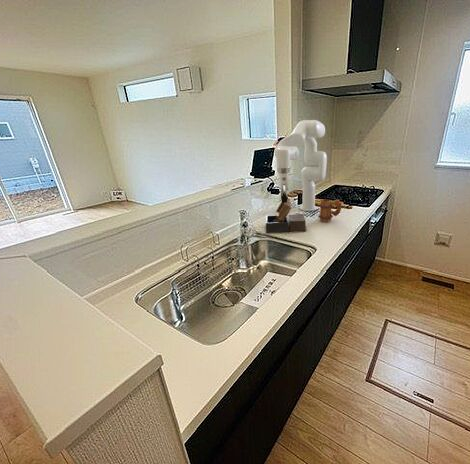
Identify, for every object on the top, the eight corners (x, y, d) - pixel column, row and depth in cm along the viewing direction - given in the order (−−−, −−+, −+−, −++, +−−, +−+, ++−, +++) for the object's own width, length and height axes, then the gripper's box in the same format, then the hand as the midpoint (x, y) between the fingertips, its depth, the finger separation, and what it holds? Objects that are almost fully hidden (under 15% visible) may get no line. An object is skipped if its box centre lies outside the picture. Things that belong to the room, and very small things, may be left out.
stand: (288, 224, 164) (288, 214, 161) (303, 224, 164) (303, 214, 161) (289, 231, 153) (289, 221, 150) (305, 231, 153) (305, 220, 150)
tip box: (282, 214, 162) (272, 209, 160) (293, 197, 157) (283, 191, 156) (283, 221, 149) (273, 216, 148) (295, 203, 145) (284, 197, 144)
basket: (266, 225, 164) (266, 215, 162) (287, 224, 165) (287, 214, 162) (266, 233, 152) (265, 223, 149) (288, 232, 152) (288, 222, 149)
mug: (317, 222, 166) (318, 200, 160) (318, 218, 173) (319, 197, 167) (340, 224, 162) (341, 201, 156) (340, 219, 170) (342, 198, 164)
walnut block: (279, 218, 161) (279, 224, 163) (273, 219, 161) (273, 224, 163) (279, 221, 157) (279, 227, 159) (273, 221, 157) (273, 227, 159)
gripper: (291, 173, 136) (291, 204, 143) (288, 167, 152) (289, 196, 159) (277, 173, 136) (278, 205, 143) (276, 168, 152) (277, 197, 159)
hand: (283, 200), depth 151 cm, fingers closed on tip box, 6 cm apart
